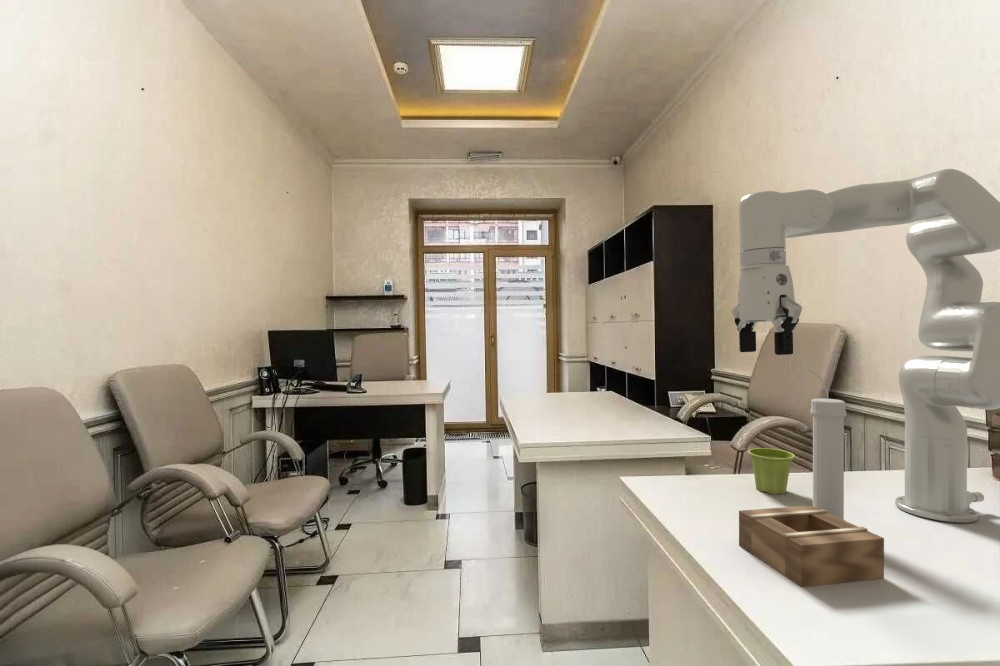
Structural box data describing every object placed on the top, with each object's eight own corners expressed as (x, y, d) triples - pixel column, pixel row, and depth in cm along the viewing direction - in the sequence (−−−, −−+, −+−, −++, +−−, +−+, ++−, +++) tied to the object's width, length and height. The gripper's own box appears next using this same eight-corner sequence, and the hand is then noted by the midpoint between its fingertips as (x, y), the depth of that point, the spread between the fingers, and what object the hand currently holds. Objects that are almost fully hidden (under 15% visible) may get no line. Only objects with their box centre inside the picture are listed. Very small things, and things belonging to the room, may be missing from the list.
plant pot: (803, 497, 110) (803, 458, 110) (760, 497, 110) (760, 458, 110) (780, 484, 119) (780, 448, 119) (740, 484, 120) (740, 448, 120)
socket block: (810, 539, 88) (810, 503, 88) (883, 578, 74) (883, 536, 74) (739, 545, 86) (738, 508, 86) (801, 586, 72) (801, 543, 72)
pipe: (852, 540, 88) (852, 370, 87) (813, 537, 89) (813, 369, 89) (837, 528, 93) (838, 367, 93) (800, 525, 94) (801, 367, 94)
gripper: (817, 253, 84) (819, 354, 84) (750, 266, 101) (752, 350, 102) (777, 254, 83) (780, 356, 83) (716, 266, 100) (718, 351, 100)
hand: (765, 353), depth 92 cm, fingers open, 9 cm apart
